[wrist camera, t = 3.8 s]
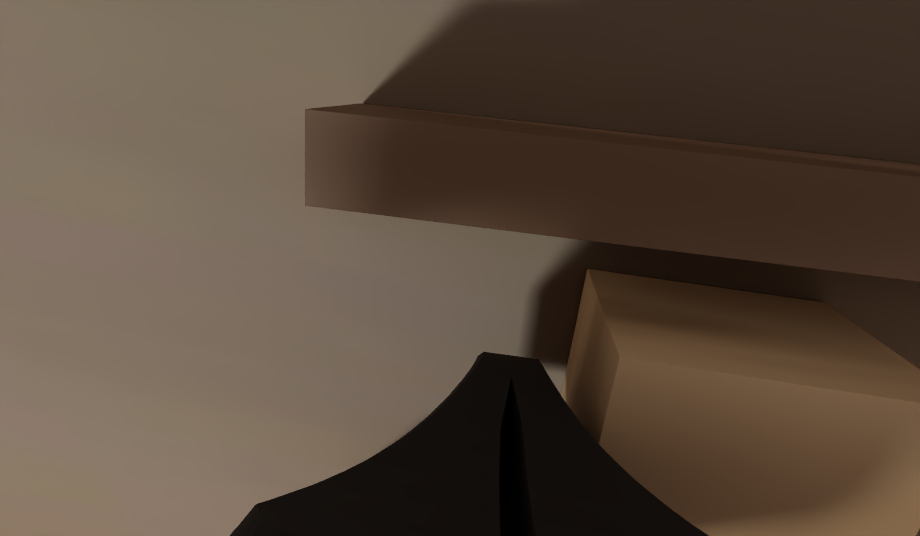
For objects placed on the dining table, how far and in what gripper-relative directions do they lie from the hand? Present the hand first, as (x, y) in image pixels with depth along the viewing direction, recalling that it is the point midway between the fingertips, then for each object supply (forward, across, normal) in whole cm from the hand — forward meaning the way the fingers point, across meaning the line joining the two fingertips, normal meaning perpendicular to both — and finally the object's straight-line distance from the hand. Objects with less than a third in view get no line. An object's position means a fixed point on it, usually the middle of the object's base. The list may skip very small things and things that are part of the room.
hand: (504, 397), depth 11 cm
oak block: (+1, -4, 0) cm, 4 cm away
